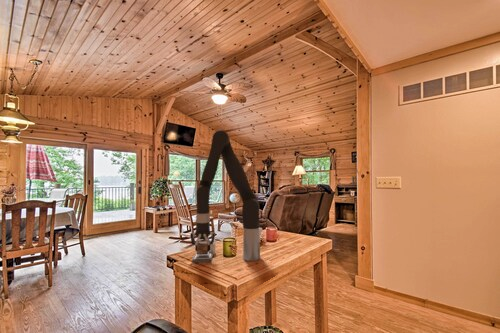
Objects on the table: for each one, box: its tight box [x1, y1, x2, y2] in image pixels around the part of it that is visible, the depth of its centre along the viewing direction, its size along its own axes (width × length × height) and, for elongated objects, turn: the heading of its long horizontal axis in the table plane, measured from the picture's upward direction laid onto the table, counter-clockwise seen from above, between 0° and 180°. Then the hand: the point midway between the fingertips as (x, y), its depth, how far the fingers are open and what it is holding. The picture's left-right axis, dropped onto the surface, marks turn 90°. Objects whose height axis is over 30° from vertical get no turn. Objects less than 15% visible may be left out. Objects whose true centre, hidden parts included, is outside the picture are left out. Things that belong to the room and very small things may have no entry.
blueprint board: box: [191, 252, 214, 263], centre depth 136 cm, size 10×10×2 cm
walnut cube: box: [196, 241, 209, 255], centre depth 136 cm, size 6×6×6 cm
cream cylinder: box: [208, 242, 216, 255], centre depth 145 cm, size 4×4×6 cm
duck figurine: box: [260, 227, 265, 240], centre depth 168 cm, size 12×8×11 cm
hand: (202, 251), depth 136 cm, fingers closed on walnut cube, 5 cm apart
